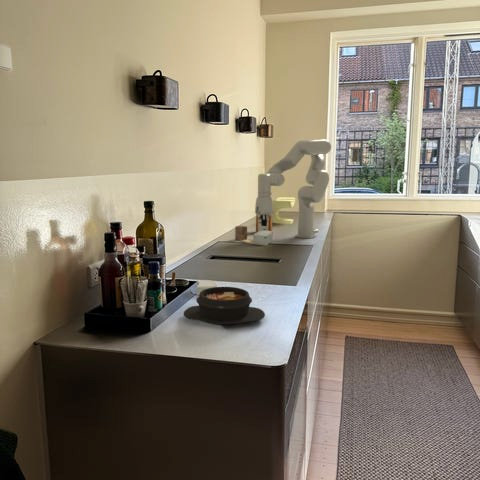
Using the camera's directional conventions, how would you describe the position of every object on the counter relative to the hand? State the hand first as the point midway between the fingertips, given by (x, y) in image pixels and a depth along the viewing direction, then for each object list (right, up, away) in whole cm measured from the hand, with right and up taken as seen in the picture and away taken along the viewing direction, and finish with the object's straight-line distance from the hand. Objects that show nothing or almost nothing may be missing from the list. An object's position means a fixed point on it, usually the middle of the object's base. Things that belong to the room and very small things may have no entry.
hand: (264, 225), depth 275 cm
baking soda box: (+2, -4, +30) cm, 31 cm away
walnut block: (-14, -8, +3) cm, 16 cm away
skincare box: (+2, -5, -1) cm, 6 cm away
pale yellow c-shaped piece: (+18, +5, +79) cm, 81 cm away
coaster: (-28, -28, -104) cm, 111 cm away
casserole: (-19, -33, -133) cm, 138 cm away
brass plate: (-6, -9, -3) cm, 12 cm away
